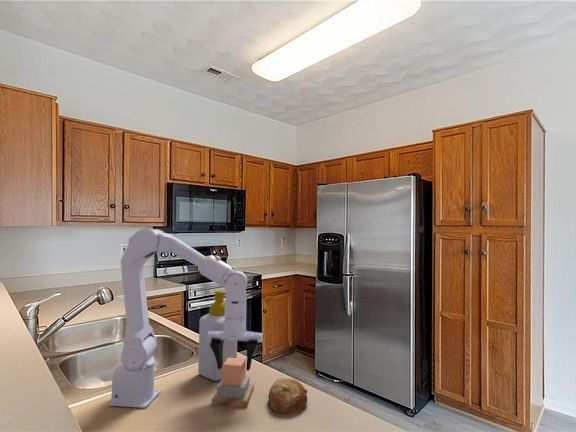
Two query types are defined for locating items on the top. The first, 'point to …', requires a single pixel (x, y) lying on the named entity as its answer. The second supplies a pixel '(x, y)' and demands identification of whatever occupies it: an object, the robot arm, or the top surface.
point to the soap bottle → (206, 355)
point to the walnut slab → (233, 399)
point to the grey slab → (233, 389)
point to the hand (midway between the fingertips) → (234, 368)
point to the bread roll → (287, 396)
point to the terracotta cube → (234, 371)
